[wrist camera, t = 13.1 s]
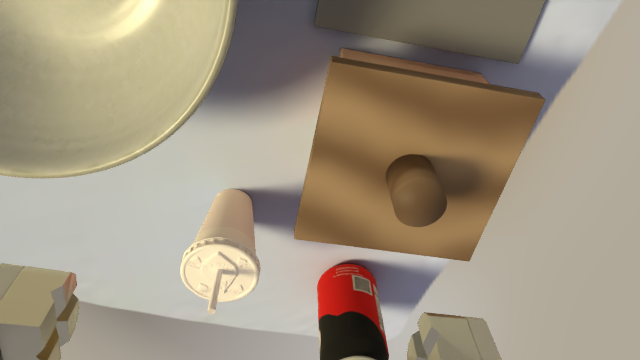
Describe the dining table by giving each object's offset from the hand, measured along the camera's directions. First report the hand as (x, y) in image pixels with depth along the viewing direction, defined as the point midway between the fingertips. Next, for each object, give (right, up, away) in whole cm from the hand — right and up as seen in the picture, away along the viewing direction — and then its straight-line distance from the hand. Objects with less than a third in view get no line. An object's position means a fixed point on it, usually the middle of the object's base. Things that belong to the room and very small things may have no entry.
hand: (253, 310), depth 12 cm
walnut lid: (+8, +4, +26) cm, 28 cm away
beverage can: (+4, -8, +43) cm, 43 cm away
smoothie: (-7, +1, +37) cm, 37 cm away
